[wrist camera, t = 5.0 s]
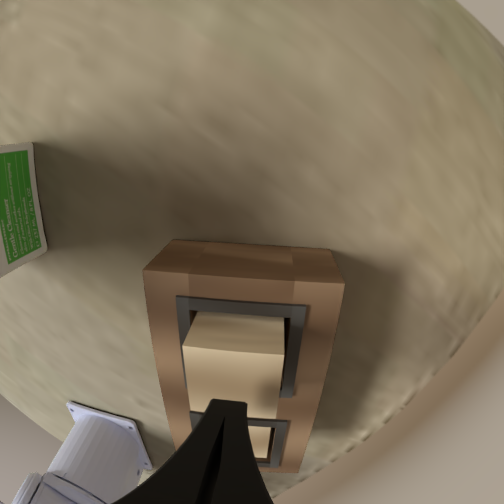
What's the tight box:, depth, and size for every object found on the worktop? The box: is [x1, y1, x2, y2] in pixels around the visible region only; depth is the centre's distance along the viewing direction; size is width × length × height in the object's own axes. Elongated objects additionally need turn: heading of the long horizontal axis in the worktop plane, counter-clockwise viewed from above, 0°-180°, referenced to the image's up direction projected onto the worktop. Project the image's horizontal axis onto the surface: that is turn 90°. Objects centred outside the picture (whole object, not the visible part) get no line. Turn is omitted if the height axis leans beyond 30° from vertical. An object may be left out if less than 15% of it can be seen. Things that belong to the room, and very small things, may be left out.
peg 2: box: [248, 426, 271, 458], centre depth 19 cm, size 4×4×4 cm
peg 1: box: [182, 311, 284, 419], centre depth 14 cm, size 4×4×4 cm
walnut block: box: [142, 240, 345, 473], centre depth 18 cm, size 16×9×5 cm, turn 178°
